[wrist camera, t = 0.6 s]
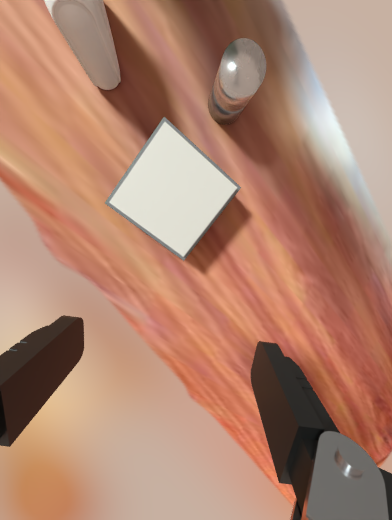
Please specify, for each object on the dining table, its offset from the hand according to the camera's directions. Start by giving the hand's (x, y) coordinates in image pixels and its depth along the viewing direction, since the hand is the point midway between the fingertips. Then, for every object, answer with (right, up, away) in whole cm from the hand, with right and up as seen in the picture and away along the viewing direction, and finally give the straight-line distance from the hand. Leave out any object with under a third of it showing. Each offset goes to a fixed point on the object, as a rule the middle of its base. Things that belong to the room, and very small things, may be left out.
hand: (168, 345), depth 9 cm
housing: (+6, +27, +20) cm, 34 cm away
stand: (-2, +14, +22) cm, 26 cm away
